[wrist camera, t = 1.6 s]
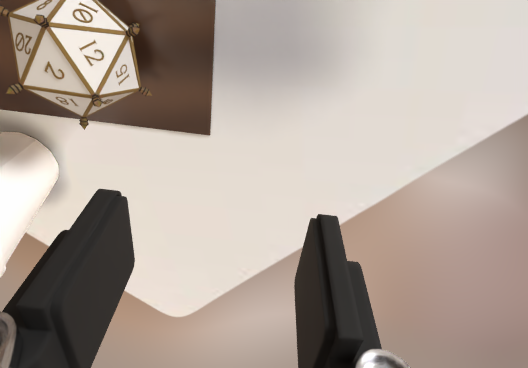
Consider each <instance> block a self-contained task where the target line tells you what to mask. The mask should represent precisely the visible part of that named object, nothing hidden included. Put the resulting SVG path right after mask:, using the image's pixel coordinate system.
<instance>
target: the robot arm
mask: <svg viewBox="0 0 528 368" xmlns="http://www.w3.org/2000/svg"><path fill="white" fill-rule="evenodd" d="M134 262H135V258H134V250H133V242H132V234H131V226H130V218H129V210H128V202H127V198H126V197H124V196H121V193H120V191H114V190H106V189H98V190H97V191H96V193H95V194H94V195H93V197H92V198H91V200H90V201H89V203H88V204H87V205H86V207H85V208H84V210H83V211H82V212H81V214H80V215H79V217H78V218H77V220H76V221H75V222H74V224H73V225H72V227H71V228H70V229H69V230H64V231H62V232H61V233H60V234H59V235H58V236H57V237H56V238H55V240H54V241H53V243H52V244H51V245H50V247H49V248H48V249H47V251H46V252H45V253H44V255H43V256H42V258H41V259H40V260H39V262H38V263H37V264H36V266H35V267H34V269H33V270H32V271H31V273H30V274H29V275H28V277H27V278H26V279H25V281H24V282H23V284H22V285H21V286H20V288H19V289H18V290H17V292H16V293H15V294H14V296H13V297H12V299H11V300H10V301H9V303H8V304H7V305H6V307H5V308H4V310H3V311H2V312H0V368H91V366H92V363H93V361H94V359H95V356H96V354H97V352H98V349H99V347H100V345H101V342H102V340H103V338H104V335H105V333H106V331H107V328H108V326H109V324H110V322H111V319H112V317H113V315H114V312H115V310H116V308H117V305H118V303H119V301H120V298H121V296H122V294H123V292H124V289H125V287H126V285H127V282H128V280H129V278H130V275H131V273H132V271H133V267H134ZM295 309H296V329H297V349H298V368H410V367H409V365H408V364H407V363H406V362H405V361H404V360H403V359H401V358H400V357H399V356H397V355H395V354H394V353H392V352H390V351H386V350H382V348H381V344H380V340H379V336H378V332H377V328H376V324H375V320H374V316H373V312H372V308H371V304H370V301H369V296H368V292H367V288H366V284H365V281H364V276H363V272H362V269H361V266H360V264H359V263H358V262H352V261H347V259H346V254H345V249H344V245H343V240H342V235H341V231H340V226H339V221H338V218H337V216H331V215H322V214H318V216H317V218H316V219H315V218H311V219H310V222H309V226H308V230H307V234H306V238H305V242H304V245H303V249H302V253H301V257H300V261H299V265H298V268H297V273H296V277H295Z"/></svg>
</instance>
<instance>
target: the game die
mask: <svg viewBox="0 0 528 368" xmlns="http://www.w3.org/2000/svg"><path fill="white" fill-rule="evenodd" d="M0 14H1V16H6V17H8V21H9V27H10V33H11V38H12V44H13V50H14V56H15V62H16V68H17V74H18V80H19V83H18V84H13V85H12V86H9V89H8V91H7V93H6V94H16V95H17V93H18V92H19V93H20V91H21V90H22V89H25V90H28V91H30V92H32V93H34V94H36V95H38V96H40V97H42V98H44V99H46V100H48V101H50V102H52V103H54V104H56V105H58V106H60V107H62V108H64V109H66V110H69V111H71V112H73V113H75V114H77V115H79V116H81V119H80V120H79V121H80V123H79V124H80V125H81V126H82V127H83V128H84V130H85V128H86V126H87V125H88V120H87V118H86V117H87V116H89V115H91V114H93V113H95V112H97V111H99V110H101V109H103V108H105V107H107V106H110V105H112V104H114V103H116V102H118V101H120V100H122V99H124V98H126V97H128V96H130V95H132V94H134V93H136V92H138V91H140V92H141V93H142V94H144V95H145V96H152V95H151V93H150V91H149V89H146V87H145V88H143V87H141V83H140V77H139V72H138V66H137V60H136V54H135V49H134V43H133V37H134V36H137V35H138V33H139V30H140V28H138V26H139V24H137V23H134V22H132V24H130V25H129V26H128V25H126V24H125V23H124V22H123V21H122V20H121V19H119V18H118V17H117V16H116V15H115V14H114V13H112V12H111V11H110V10H109V9H108V8H107V7H105V6H104V5H103V4H102V3H101V2H100V1H99V0H35V1H33V2H31V3H29V4H27V5H25V6H22V7H20V8H18V9H16V10H14V11H12V12H9V11H8V10H7V8H4V7H2V5H0Z"/></svg>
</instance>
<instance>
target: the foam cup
mask: <svg viewBox="0 0 528 368" xmlns="http://www.w3.org/2000/svg"><path fill="white" fill-rule="evenodd" d="M58 177H59V167H58V163H57V161H56V160H55V158H54V156H53V154H52V153H51V151H50V150H49V149H47V148H46V147H45V146H44V145H43V144H41V143H40V142H39V141H38V140H37V139H34V138H32V137H30V136H27V135H25V134H22V133H20V132H2V133H0V277H1V276H2V275H3V273H4V272H5V270H6V266H5V265H6V263H7V261H8V260H9V258H10V256H11V255H12V253H13V252H14V250H15V248H16V247H17V245H18V243H19V242H20V240H21V238H22V237H23V235H24V234H25V232H26V230H27V229H28V227H29V225H30V224H31V222H32V220H33V219H34V217H35V215H36V214H37V212H38V211H39V209H40V207H41V206H42V204H43V202H44V201H45V199H46V197H47V196H48V194H49V193H50V191H51V189H52V188H53V186H54V184H55V183H56V181H57V179H58Z"/></svg>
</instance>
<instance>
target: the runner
mask: <svg viewBox="0 0 528 368" xmlns="http://www.w3.org/2000/svg"><path fill="white" fill-rule="evenodd" d="M33 1H35V0H0V5H2V7H4V8H7V10H8V11H9V12H12V11H14V10H16V9H18V8H20V7H22V6H25V5H27V4H29V3H31V2H33ZM99 1H100V2H101V3H102V4H103V5H104V6H105V7H107V8H108V9H109V10H110V11H111V12H112V13H114V14H115V15H116V16H117V17H118V18H119V19H121V20H122V21H123V22H124V23H125V24H126V25H128V26H129V25H130V24H132V22H134V23H137V24H139V26H138V28H140V30H139V33H138V35H137V36H134V37H133V43H134V49H135V54H136V60H137V66H138V72H139V77H140V83H141V87H143V88H145V87H146V89H149V91H150V93H151V95H152V96H145V95H144V94H142V93H141V92H140V91H138V92H136V93H134V94H132V95H130V96H128V97H126V98H124V99H122V100H120V101H118V102H116V103H114V104H112V105H110V106H107V107H105V108H103V109H101V110H99V111H97V112H95V113H93V114H91V115H89V116H87V117H86V118H87V120H91V121H99V122H107V123H115V124H123V125H131V126H139V127H147V128H155V129H163V130H171V131H179V132H187V133H196V134H204V135H210V125H211V100H212V75H213V49H214V24H215V0H99ZM18 83H19V80H18V74H17V68H16V62H15V56H14V50H13V44H12V38H11V33H10V27H9V21H8V17H6V16H1V14H0V109H2V110H10V111H18V112H26V113H34V114H42V115H50V116H58V117H66V118H75V119H81V116H79V115H77V114H75V113H73V112H71V111H69V110H66V109H64V108H62V107H60V106H58V105H56V104H54V103H52V102H50V101H48V100H46V99H44V98H42V97H40V96H38V95H36V94H34V93H32V92H30V91H28V90H25V89H22V90H21V91H20V93H19V92H18V93H17V95H16V94H6V93H7V91H8V89H9V86H12V85H13V84H18Z"/></svg>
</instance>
